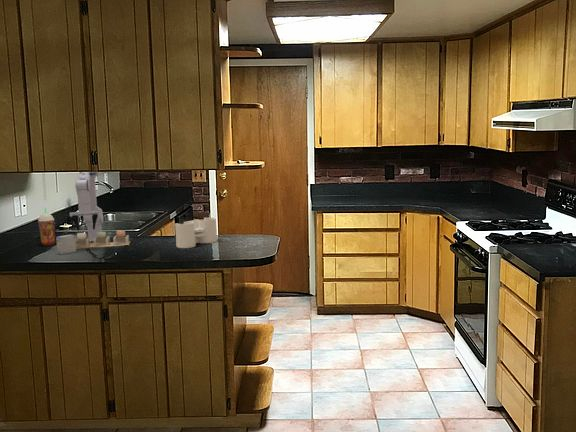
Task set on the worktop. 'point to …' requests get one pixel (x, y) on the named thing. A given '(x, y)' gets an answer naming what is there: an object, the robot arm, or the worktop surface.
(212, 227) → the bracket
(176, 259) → the worktop surface
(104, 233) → the sage key
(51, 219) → the smoothie
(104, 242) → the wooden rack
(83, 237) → the ivory key
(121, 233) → the terracotta key
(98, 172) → the robot arm
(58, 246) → the medicine box
